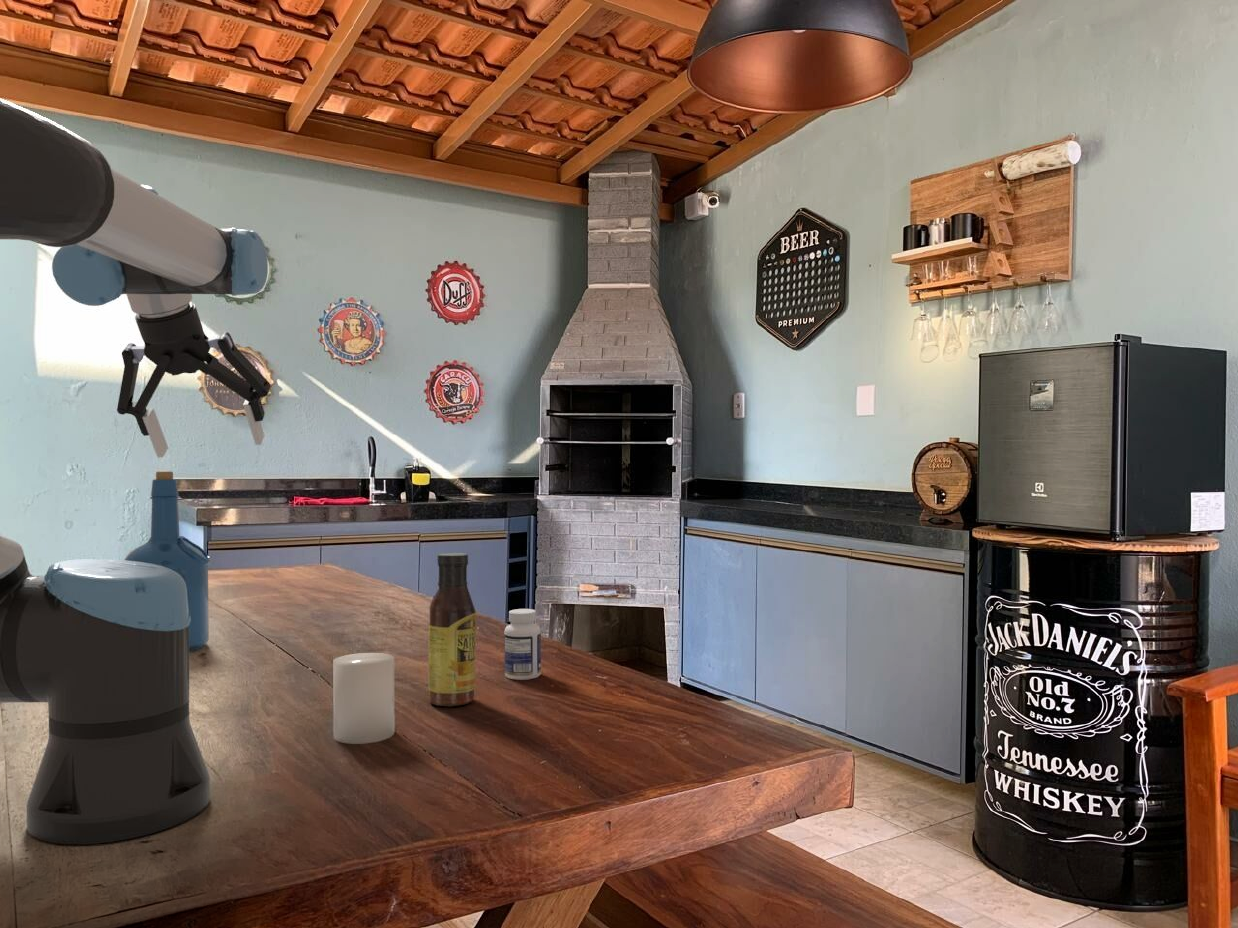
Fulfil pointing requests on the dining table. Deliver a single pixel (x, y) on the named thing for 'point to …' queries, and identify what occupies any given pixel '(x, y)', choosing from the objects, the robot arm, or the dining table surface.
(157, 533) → the wine bottle
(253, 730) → the dining table surface
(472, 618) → the sauce bottle
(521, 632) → the pill bottle
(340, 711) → the white rounded cylinder
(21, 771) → the dining table surface
